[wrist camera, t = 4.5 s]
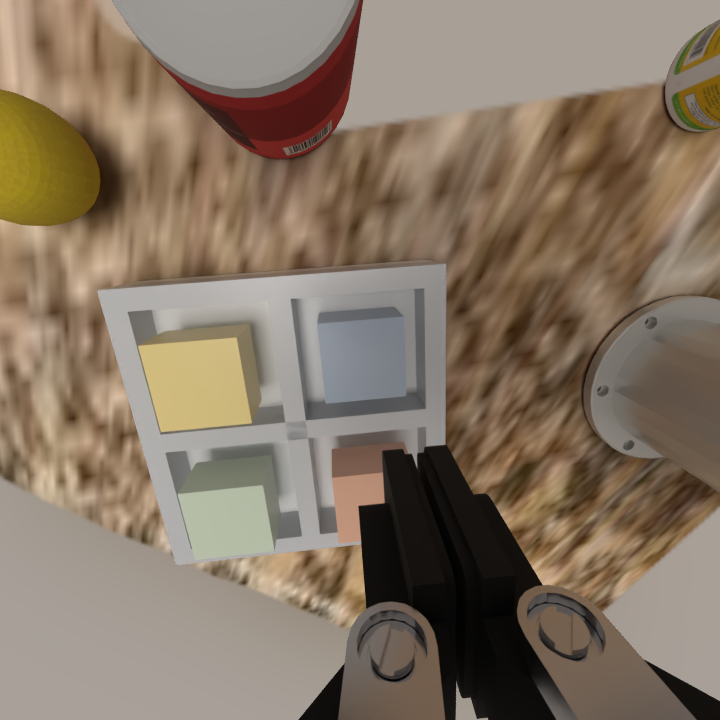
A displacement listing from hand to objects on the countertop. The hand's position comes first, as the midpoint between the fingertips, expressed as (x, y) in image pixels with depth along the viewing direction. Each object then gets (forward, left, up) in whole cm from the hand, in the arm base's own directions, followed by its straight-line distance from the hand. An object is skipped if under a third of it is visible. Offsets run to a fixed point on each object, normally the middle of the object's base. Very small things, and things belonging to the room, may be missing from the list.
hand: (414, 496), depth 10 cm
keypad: (+5, +4, -16) cm, 17 cm away
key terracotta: (0, +8, -13) cm, 15 cm away
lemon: (+16, -11, -17) cm, 25 cm away
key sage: (+9, +8, -13) cm, 17 cm away
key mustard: (+9, 0, -13) cm, 15 cm away
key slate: (0, 0, -14) cm, 14 cm away
